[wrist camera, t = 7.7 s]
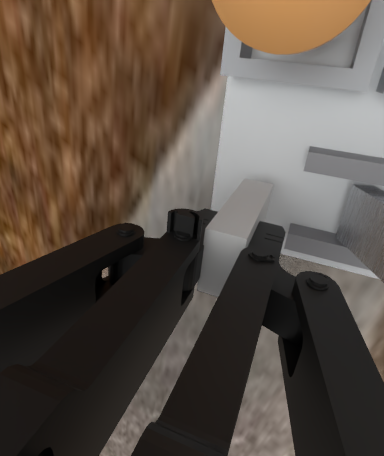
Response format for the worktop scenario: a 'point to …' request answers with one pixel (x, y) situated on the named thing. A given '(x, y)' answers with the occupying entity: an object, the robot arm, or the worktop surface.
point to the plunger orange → (288, 22)
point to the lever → (364, 227)
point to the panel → (306, 133)
